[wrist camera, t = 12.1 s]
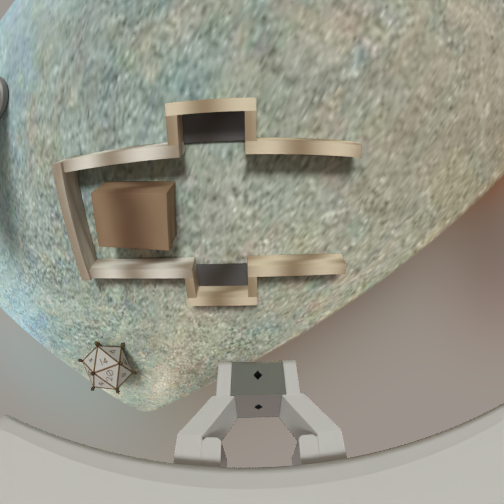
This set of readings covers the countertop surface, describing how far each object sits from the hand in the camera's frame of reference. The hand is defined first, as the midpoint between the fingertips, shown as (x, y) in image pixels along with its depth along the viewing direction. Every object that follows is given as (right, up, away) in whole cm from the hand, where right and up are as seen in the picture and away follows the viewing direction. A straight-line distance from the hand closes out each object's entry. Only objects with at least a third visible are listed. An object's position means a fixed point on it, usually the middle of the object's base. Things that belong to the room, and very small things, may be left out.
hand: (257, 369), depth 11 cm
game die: (-23, -11, +30) cm, 39 cm away
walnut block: (-12, +10, +19) cm, 25 cm away
